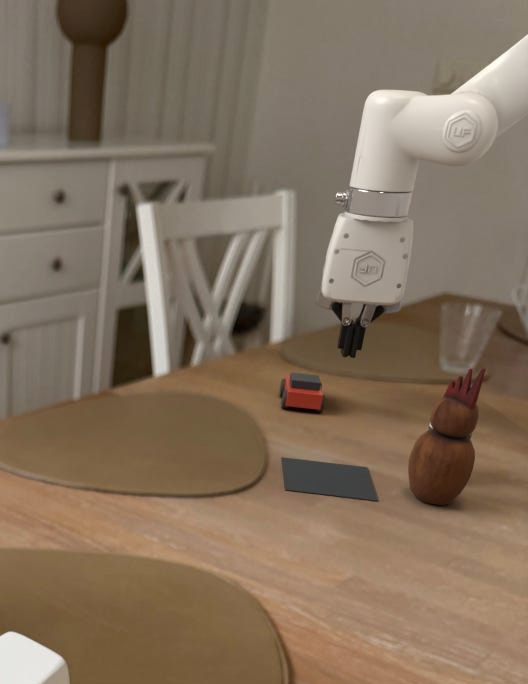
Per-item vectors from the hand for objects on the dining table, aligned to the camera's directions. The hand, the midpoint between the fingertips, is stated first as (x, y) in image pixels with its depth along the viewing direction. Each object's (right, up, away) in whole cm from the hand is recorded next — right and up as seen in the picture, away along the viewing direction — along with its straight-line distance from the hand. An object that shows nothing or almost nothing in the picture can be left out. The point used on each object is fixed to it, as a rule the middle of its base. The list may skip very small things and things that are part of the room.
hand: (347, 354), depth 130 cm
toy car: (-2, -4, +3) cm, 6 cm away
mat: (-8, -20, -19) cm, 28 cm away
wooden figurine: (+3, -22, -22) cm, 31 cm away
